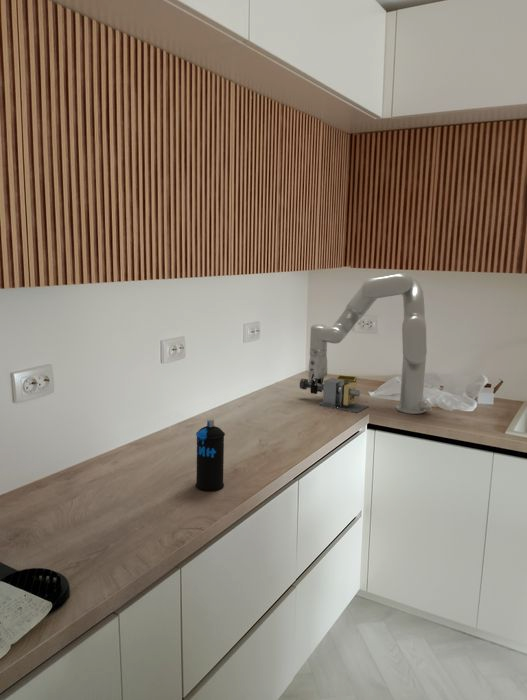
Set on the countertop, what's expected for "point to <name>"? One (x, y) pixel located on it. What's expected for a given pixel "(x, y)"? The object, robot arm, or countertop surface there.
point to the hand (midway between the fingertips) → (316, 392)
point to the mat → (353, 407)
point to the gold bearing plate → (347, 397)
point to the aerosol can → (210, 457)
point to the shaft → (305, 384)
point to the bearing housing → (331, 393)
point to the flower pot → (347, 379)
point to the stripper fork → (342, 396)
